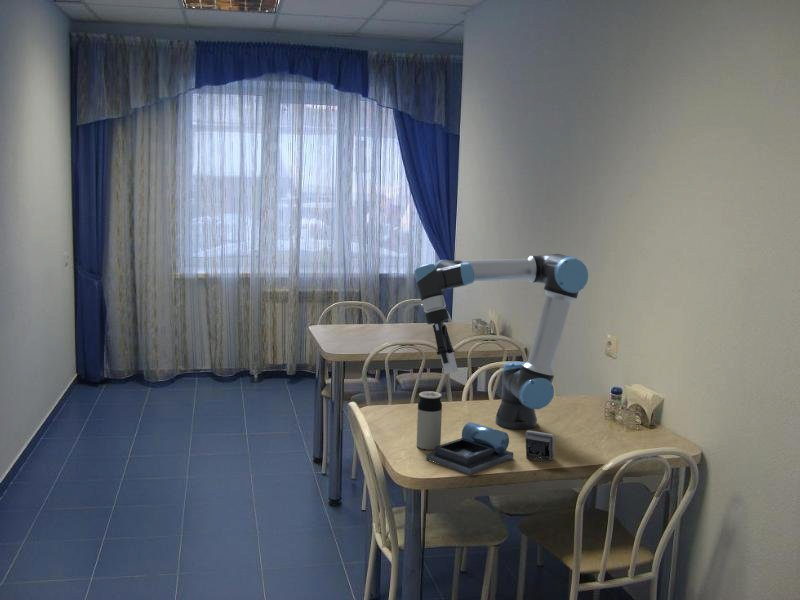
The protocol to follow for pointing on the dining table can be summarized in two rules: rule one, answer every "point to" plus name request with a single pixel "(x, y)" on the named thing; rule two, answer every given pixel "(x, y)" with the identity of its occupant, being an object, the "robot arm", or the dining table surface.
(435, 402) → the travel mug
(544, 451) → the electrical switch
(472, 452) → the base
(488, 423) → the dining table surface
